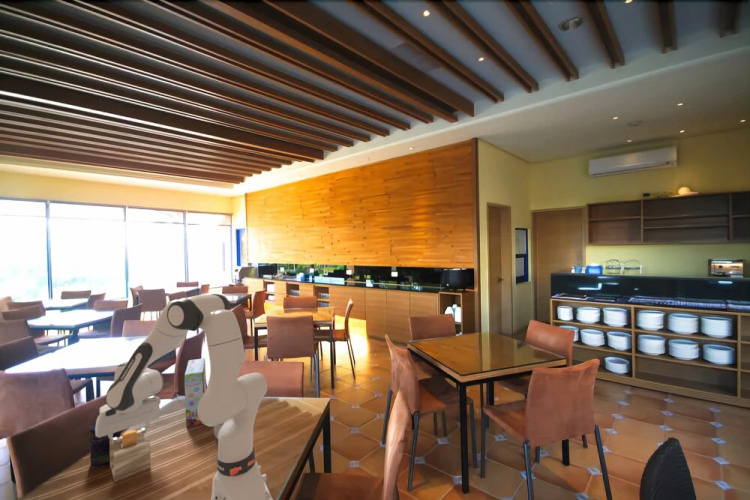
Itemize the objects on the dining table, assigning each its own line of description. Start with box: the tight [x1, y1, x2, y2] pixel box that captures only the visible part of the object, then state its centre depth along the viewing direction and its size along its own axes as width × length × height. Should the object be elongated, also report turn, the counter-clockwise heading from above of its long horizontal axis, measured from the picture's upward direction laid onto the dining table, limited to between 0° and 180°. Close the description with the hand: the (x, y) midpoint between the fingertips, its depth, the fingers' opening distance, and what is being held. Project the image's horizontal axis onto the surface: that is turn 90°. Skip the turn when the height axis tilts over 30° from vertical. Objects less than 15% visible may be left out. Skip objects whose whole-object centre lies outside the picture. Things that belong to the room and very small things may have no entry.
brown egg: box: [121, 429, 138, 448], centre depth 127 cm, size 5×5×4 cm
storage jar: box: [89, 421, 122, 469], centre depth 131 cm, size 10×10×15 cm
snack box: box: [183, 357, 207, 428], centre depth 165 cm, size 22×9×26 cm, turn 25°
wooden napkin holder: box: [109, 428, 152, 483], centre depth 127 cm, size 13×11×10 cm
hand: (129, 438), depth 127 cm, fingers open, 8 cm apart
